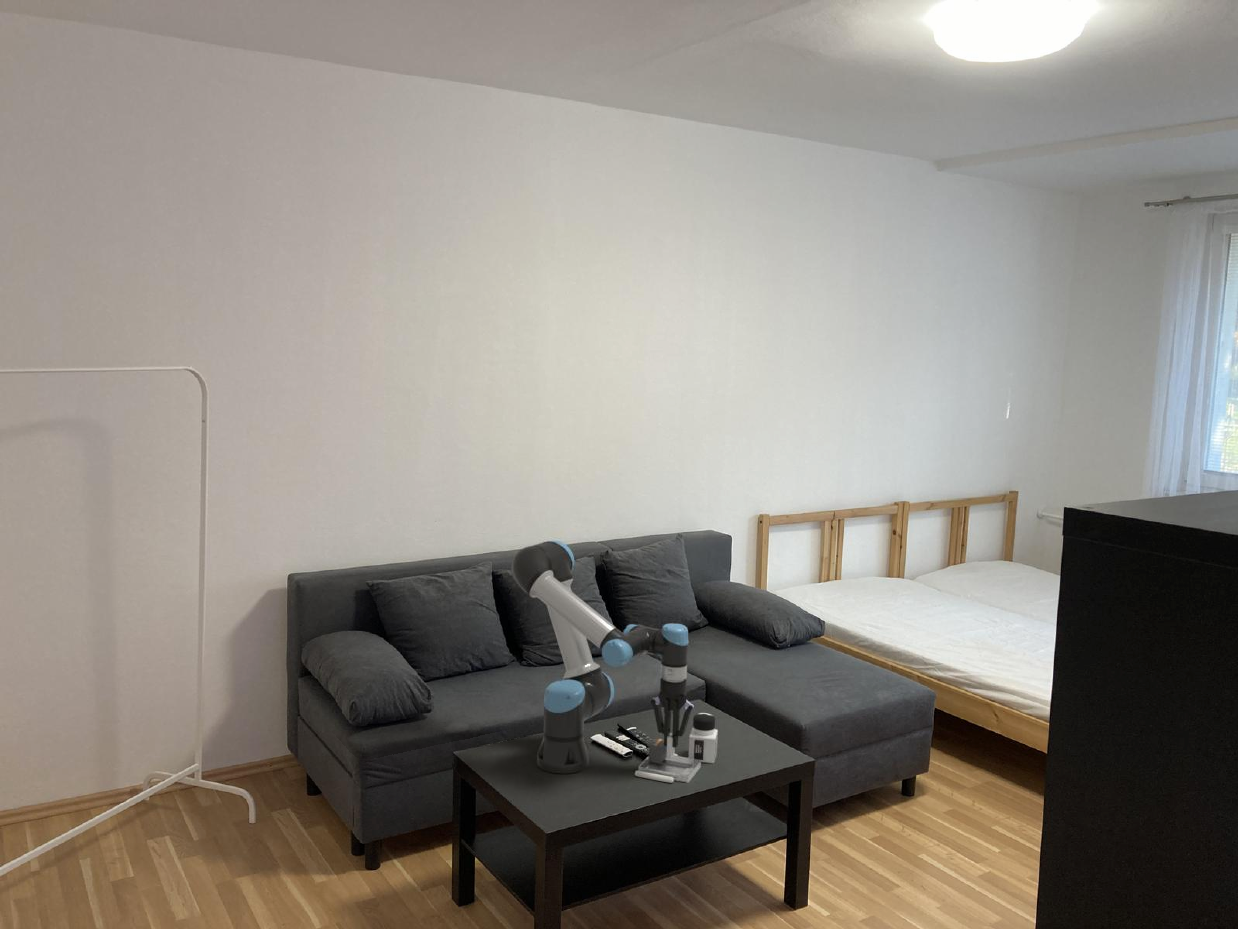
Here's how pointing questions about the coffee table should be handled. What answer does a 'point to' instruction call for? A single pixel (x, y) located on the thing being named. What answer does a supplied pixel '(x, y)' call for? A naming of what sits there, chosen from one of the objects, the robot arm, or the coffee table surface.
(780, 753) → the coffee table surface
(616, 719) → the coffee table surface
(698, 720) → the container
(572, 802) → the coffee table surface
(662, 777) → the rod
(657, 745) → the toggle
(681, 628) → the robot arm
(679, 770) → the panel
